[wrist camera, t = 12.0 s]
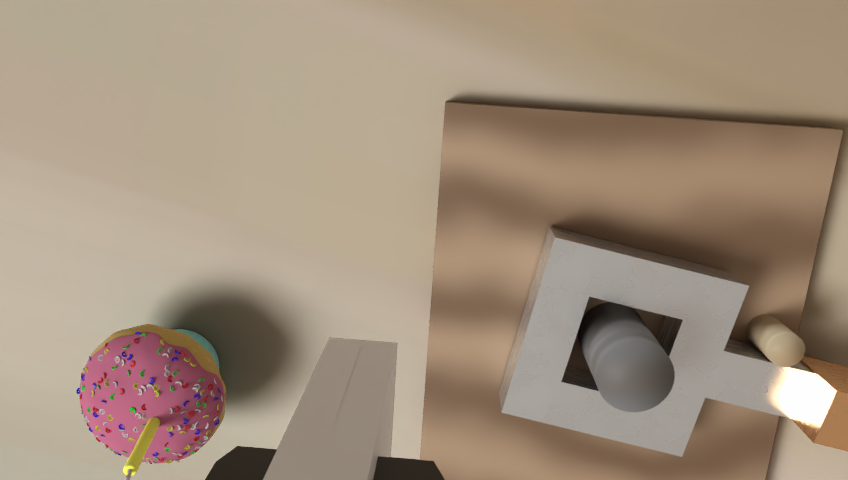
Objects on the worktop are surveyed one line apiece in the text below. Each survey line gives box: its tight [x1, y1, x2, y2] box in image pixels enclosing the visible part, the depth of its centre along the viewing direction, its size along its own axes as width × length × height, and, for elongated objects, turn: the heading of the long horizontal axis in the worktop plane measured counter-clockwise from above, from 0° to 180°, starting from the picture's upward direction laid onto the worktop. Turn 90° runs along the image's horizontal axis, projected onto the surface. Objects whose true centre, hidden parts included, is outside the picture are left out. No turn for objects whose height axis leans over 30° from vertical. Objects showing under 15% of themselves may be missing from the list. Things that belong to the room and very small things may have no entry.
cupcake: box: [77, 324, 226, 480], centre depth 39 cm, size 9×8×12 cm
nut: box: [499, 227, 848, 457], centre depth 39 cm, size 20×11×5 cm, turn 76°
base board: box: [420, 102, 843, 480], centre depth 39 cm, size 26×22×7 cm
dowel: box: [746, 314, 805, 367], centre depth 39 cm, size 2×2×3 cm
